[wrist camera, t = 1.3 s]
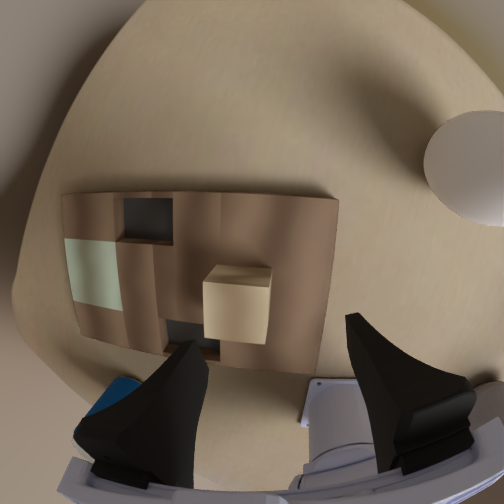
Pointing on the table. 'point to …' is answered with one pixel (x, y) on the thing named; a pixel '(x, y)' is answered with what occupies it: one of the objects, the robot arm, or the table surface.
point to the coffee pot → (487, 404)
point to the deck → (199, 269)
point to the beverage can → (109, 402)
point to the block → (237, 303)
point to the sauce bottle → (469, 166)
